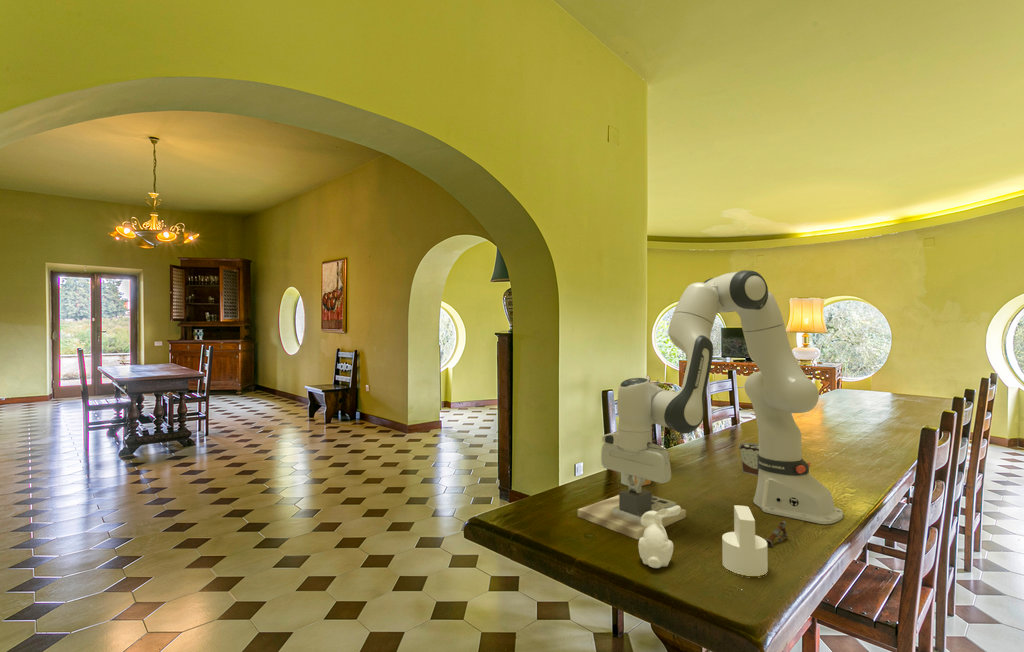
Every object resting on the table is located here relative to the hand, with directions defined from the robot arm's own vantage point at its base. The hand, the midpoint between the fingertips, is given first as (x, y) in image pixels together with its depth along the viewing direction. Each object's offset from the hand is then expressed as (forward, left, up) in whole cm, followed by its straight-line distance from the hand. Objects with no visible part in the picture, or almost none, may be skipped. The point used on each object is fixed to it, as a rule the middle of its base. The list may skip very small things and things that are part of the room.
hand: (635, 491), depth 133 cm
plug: (0, -1, -7) cm, 7 cm away
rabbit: (-15, +12, -9) cm, 21 cm away
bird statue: (+26, -49, -9) cm, 57 cm away
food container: (-1, -71, -9) cm, 72 cm away
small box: (+21, -29, -9) cm, 37 cm away
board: (+4, -4, -9) cm, 11 cm away
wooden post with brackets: (-29, -17, -9) cm, 35 cm away
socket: (0, -4, -7) cm, 8 cm away
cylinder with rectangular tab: (-30, +1, -9) cm, 31 cm away
